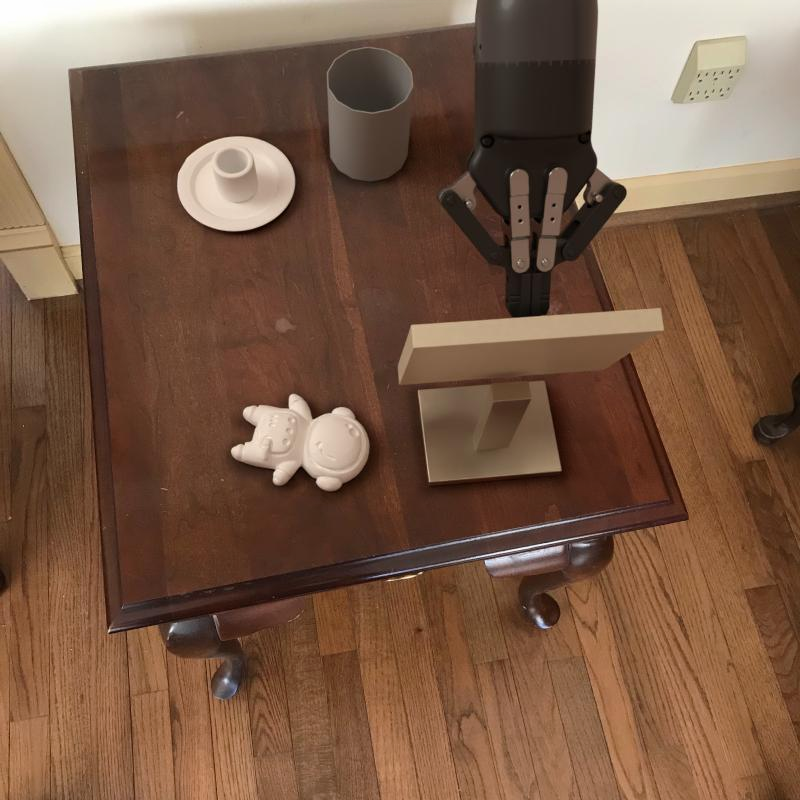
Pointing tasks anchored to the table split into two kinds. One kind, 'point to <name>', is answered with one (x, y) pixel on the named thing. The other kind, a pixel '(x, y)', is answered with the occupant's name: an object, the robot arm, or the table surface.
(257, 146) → the candle holder
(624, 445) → the table surface
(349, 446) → the astronaut figurine
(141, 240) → the table surface
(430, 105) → the table surface
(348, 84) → the cup
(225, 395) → the table surface
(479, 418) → the monitor stand
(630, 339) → the monitor screen
